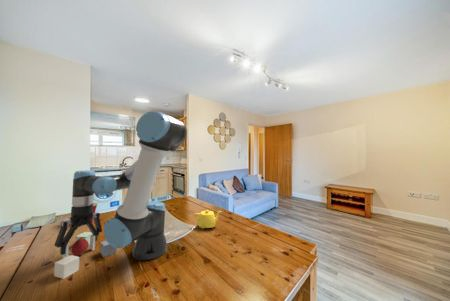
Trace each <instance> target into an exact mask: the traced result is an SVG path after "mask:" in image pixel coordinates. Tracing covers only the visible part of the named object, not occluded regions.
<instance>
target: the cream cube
mask: <svg viewBox="0 0 450 301" xmlns="http://www.w3.org/2000/svg"><path fill="white" fill-rule="evenodd" d="M80 258H81V257H80V256H78V255H74V254H73V255H72V254H70V255H69V254H68V256H67V257H65V258H63V259H62V258H61V259H59V260H57V261H55V262H54V268H53V269H54V270H53V276H54V277H56V278H60V279H62V280H63V279H66V278H68V277H69V276H71V275H72V274H74V273H76V272H77V271H79V270H80Z"/></svg>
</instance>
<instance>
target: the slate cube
mask: <svg viewBox="0 0 450 301" xmlns="http://www.w3.org/2000/svg"><path fill="white" fill-rule="evenodd" d="M99 251H100V252H99V253H100V256H102V258H105V257H108V256H111V255H113V254H116V253H117V248H114V247H112V246H111V245H110V244H109V243H108V242H107V240H106V239H105V240H103V241H101V242H100V250H99Z"/></svg>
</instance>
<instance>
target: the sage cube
mask: <svg viewBox="0 0 450 301" xmlns="http://www.w3.org/2000/svg"><path fill="white" fill-rule="evenodd" d="M90 235H93V234H92V232H91V231H84V232H81V233H80V234H77V235H76V236H75V242H76V241H77V240H79V238H80V237H83V239H85V240H87V241H88V243H89V245H90ZM75 242H74V243H75Z"/></svg>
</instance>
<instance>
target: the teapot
mask: <svg viewBox="0 0 450 301" xmlns="http://www.w3.org/2000/svg"><path fill="white" fill-rule="evenodd" d="M221 212H222V210H220V211H218V212H217V213H216V215H215V214H214V211H213V210H209V209H205V210H201V211H200V212H199V213H198V212H196V213H194V218H195V219H196V221H197V225H198V227H199V228H200V229H201V228H204V229H209V228H212V229H213V228H214V227H215V225H216V223H217V222H218V221H219V218H220V217H219V216H220V213H221ZM198 216H199V217H198Z"/></svg>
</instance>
